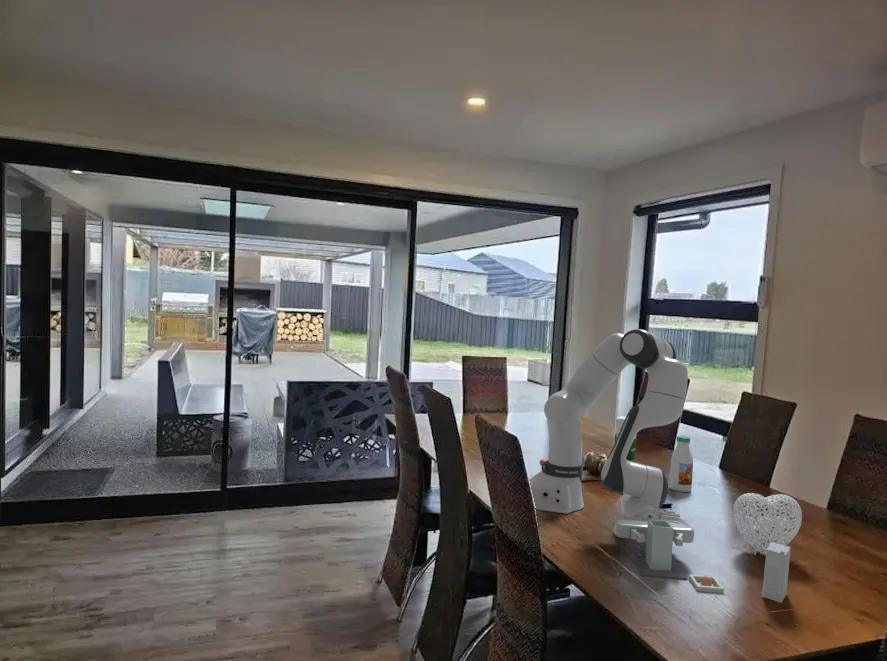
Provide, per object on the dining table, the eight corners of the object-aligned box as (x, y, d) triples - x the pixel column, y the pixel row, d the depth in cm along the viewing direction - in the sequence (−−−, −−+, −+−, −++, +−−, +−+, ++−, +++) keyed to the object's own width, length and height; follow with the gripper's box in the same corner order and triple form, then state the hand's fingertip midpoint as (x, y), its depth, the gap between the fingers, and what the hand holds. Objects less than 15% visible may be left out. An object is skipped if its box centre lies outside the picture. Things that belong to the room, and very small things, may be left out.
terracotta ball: (699, 588, 138) (698, 579, 137) (702, 581, 140) (701, 572, 139) (711, 591, 136) (710, 582, 135) (713, 584, 138) (713, 575, 137)
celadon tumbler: (650, 569, 144) (653, 526, 144) (645, 560, 149) (647, 519, 149) (670, 570, 144) (673, 528, 143) (665, 562, 149) (667, 520, 148)
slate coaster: (641, 578, 141) (641, 574, 141) (630, 558, 152) (631, 554, 152) (687, 581, 140) (687, 577, 140) (673, 561, 151) (673, 558, 151)
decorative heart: (785, 548, 164) (789, 489, 163) (808, 565, 153) (813, 502, 152) (722, 545, 164) (726, 486, 163) (741, 561, 153) (745, 499, 152)
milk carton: (631, 461, 252) (634, 416, 251) (611, 457, 257) (613, 413, 257) (637, 457, 259) (640, 413, 258) (617, 453, 265) (620, 410, 264)
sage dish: (697, 594, 135) (697, 586, 135) (688, 582, 141) (689, 574, 141) (723, 596, 135) (724, 588, 134) (713, 584, 141) (714, 576, 140)
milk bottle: (669, 490, 212) (672, 437, 212) (669, 484, 220) (672, 433, 219) (691, 493, 210) (695, 440, 209) (691, 488, 217) (694, 436, 216)
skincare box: (766, 589, 138) (769, 540, 138) (787, 596, 135) (791, 546, 135) (760, 599, 133) (764, 548, 133) (782, 606, 131) (786, 554, 130)
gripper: (609, 507, 160) (619, 526, 146) (684, 512, 158) (702, 532, 144) (607, 529, 160) (618, 550, 146) (682, 535, 158) (700, 556, 144)
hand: (660, 541), depth 145 cm, fingers open, 8 cm apart
